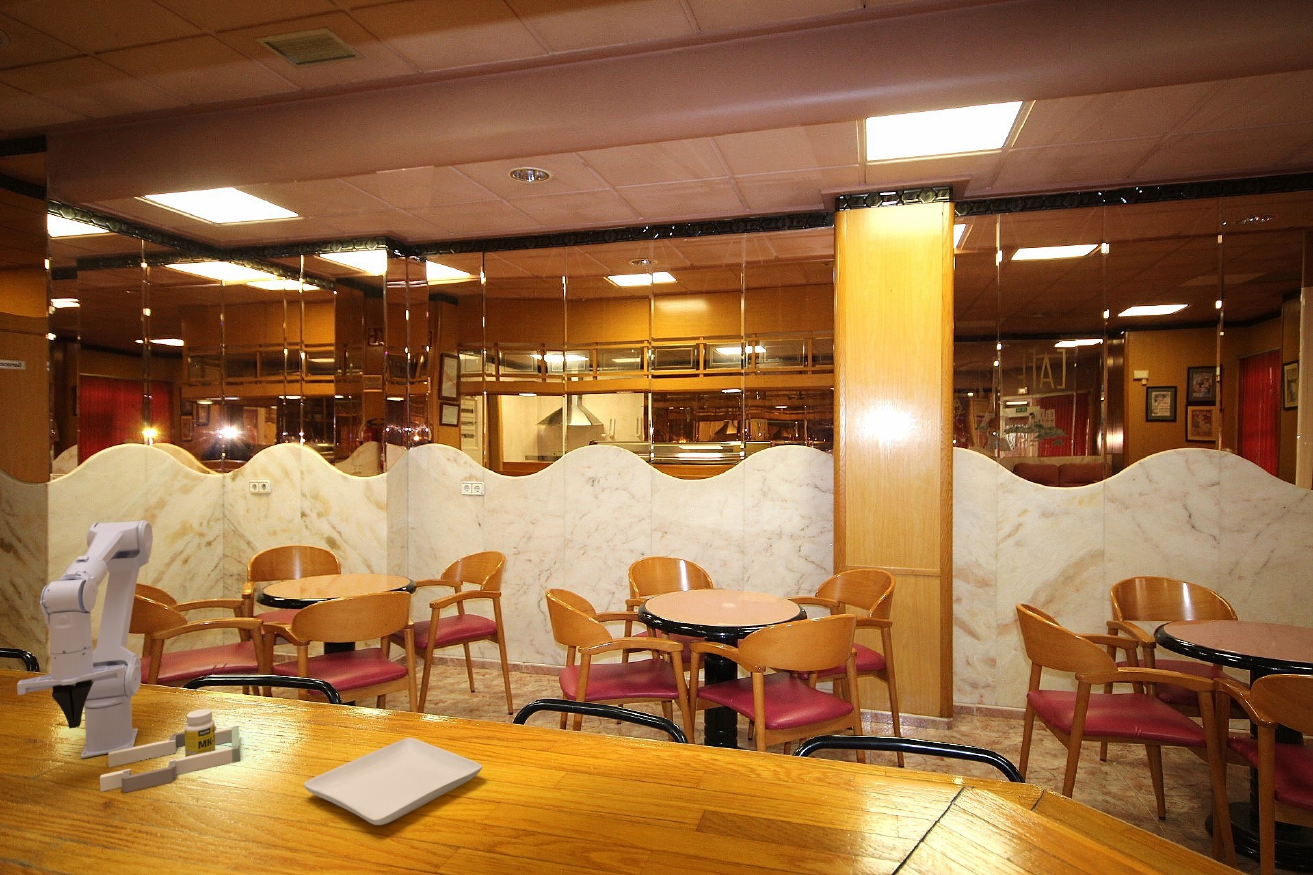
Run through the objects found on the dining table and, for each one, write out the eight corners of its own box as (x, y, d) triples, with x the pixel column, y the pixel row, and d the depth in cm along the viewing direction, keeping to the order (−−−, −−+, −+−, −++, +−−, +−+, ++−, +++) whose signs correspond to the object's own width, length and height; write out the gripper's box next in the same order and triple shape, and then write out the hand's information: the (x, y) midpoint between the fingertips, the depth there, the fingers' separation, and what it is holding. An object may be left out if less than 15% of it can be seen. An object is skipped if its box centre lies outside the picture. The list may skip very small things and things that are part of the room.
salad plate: (409, 751, 138) (408, 733, 138) (486, 782, 126) (485, 763, 126) (300, 802, 121) (299, 781, 121) (377, 843, 108) (376, 821, 108)
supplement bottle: (199, 764, 133) (198, 719, 133) (179, 761, 135) (177, 716, 134) (221, 752, 138) (220, 708, 138) (201, 749, 139) (200, 706, 139)
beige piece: (111, 758, 136) (111, 746, 136) (238, 732, 147) (238, 720, 147) (98, 798, 122) (97, 784, 122) (240, 766, 132) (239, 753, 132)
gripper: (11, 663, 120) (15, 744, 120) (120, 647, 127) (123, 724, 128) (21, 651, 126) (25, 728, 127) (124, 636, 133) (128, 710, 134)
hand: (75, 725), depth 128 cm, fingers closed
